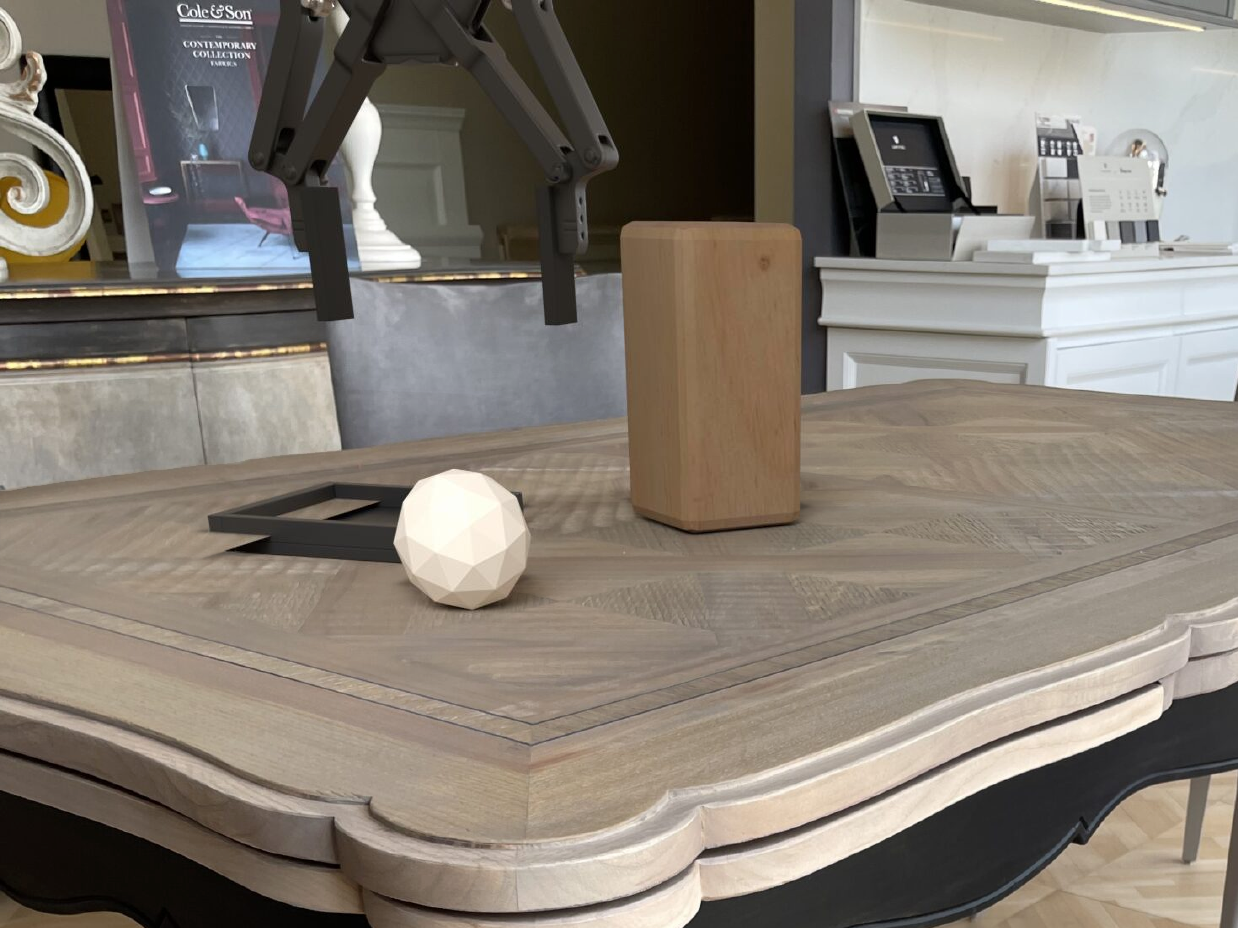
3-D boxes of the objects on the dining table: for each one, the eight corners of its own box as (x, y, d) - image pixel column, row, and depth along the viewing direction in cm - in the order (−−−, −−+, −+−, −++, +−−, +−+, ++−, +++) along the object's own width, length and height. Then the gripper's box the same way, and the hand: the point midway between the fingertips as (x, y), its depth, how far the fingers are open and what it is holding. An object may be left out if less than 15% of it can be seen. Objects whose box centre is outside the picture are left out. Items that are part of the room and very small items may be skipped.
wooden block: (805, 524, 119) (808, 223, 110) (688, 536, 115) (680, 222, 105) (739, 505, 127) (736, 221, 117) (626, 515, 122) (613, 220, 112)
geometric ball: (487, 642, 98) (541, 525, 98) (502, 622, 90) (560, 495, 90) (370, 581, 95) (425, 461, 95) (375, 555, 88) (435, 425, 88)
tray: (212, 550, 108) (206, 515, 107) (332, 512, 122) (328, 481, 121) (425, 564, 105) (421, 528, 104) (524, 524, 118) (522, 491, 117)
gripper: (666, -160, 77) (683, 321, 88) (217, -134, 83) (282, 314, 93) (610, -192, 71) (635, 330, 81) (128, -163, 77) (208, 322, 87)
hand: (446, 322), depth 87 cm, fingers open, 13 cm apart
